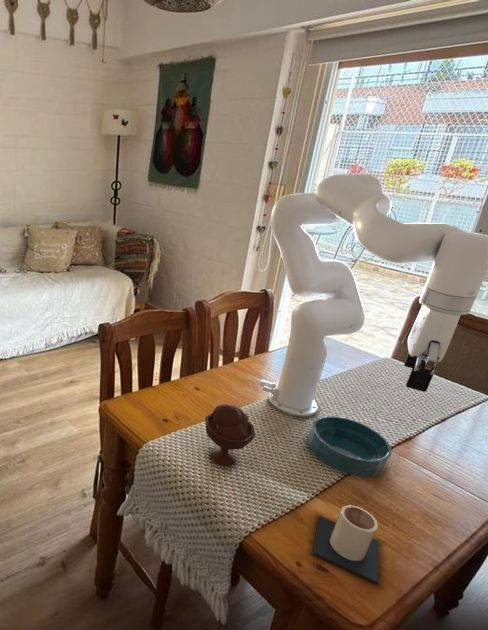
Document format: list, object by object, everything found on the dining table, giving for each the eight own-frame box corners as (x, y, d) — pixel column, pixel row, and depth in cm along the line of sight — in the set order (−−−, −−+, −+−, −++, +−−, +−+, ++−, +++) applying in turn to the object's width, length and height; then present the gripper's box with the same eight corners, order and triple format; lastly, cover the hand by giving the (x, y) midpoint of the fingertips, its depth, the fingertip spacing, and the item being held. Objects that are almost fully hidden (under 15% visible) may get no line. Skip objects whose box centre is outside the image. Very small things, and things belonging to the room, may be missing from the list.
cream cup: (328, 550, 81) (339, 520, 78) (331, 528, 85) (342, 500, 82) (364, 566, 78) (377, 536, 75) (365, 543, 82) (378, 514, 79)
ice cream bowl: (242, 482, 97) (255, 427, 90) (192, 462, 102) (202, 408, 96) (251, 454, 105) (265, 402, 99) (205, 437, 110) (215, 386, 104)
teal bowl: (303, 459, 104) (308, 442, 102) (311, 424, 116) (316, 408, 114) (384, 489, 96) (392, 472, 94) (384, 448, 108) (391, 432, 106)
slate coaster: (312, 554, 81) (313, 552, 80) (319, 517, 88) (319, 515, 88) (377, 584, 76) (378, 582, 75) (377, 543, 83) (378, 540, 83)
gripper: (418, 282, 90) (391, 355, 97) (424, 309, 77) (392, 391, 84) (465, 290, 86) (433, 366, 93) (480, 320, 73) (441, 405, 80)
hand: (414, 377), depth 88 cm, fingers open, 9 cm apart
